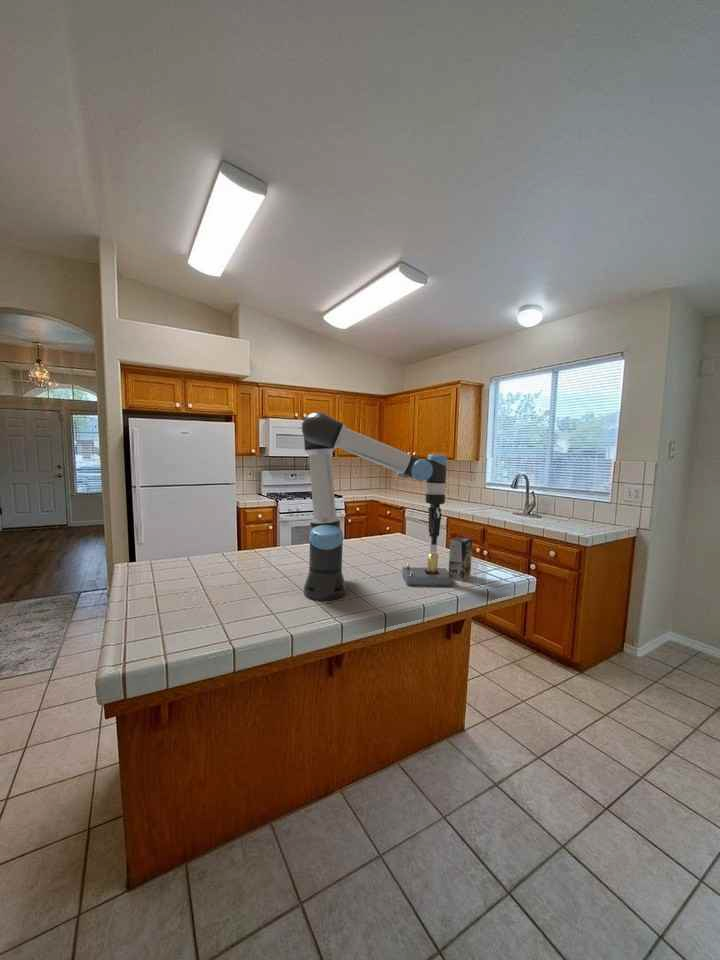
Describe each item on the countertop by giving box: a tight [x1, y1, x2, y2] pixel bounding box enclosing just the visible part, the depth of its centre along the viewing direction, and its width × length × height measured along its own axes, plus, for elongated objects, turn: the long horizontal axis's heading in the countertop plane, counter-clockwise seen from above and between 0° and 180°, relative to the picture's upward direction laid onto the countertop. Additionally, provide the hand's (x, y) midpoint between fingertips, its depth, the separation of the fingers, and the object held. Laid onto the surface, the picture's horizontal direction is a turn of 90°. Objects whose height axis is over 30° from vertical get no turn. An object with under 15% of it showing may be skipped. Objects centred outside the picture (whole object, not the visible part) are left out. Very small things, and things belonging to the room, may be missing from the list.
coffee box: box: [448, 536, 473, 582], centre depth 161 cm, size 9×6×16 cm
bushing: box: [426, 552, 439, 574], centre depth 155 cm, size 4×4×11 cm
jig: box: [401, 563, 454, 587], centre depth 155 cm, size 18×12×5 cm, turn 92°
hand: (432, 551), depth 155 cm, fingers closed
